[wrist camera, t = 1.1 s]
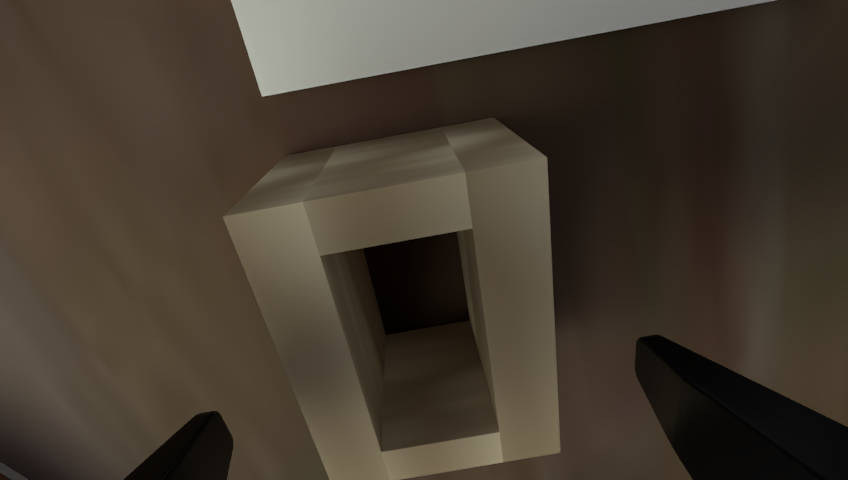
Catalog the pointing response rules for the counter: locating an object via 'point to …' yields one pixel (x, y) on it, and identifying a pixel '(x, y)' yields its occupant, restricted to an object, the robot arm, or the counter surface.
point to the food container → (9, 473)
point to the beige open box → (418, 349)
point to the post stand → (423, 32)
